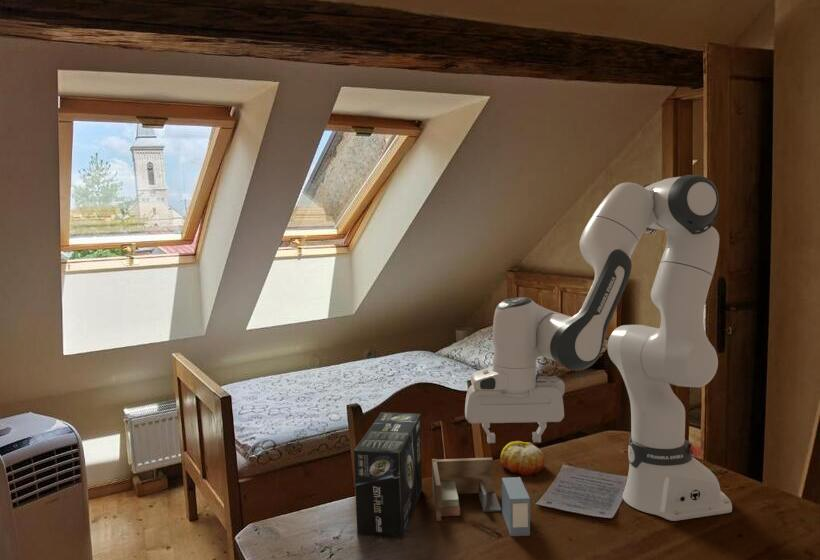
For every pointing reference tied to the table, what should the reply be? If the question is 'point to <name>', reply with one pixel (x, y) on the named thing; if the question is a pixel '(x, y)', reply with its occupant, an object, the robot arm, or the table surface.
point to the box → (388, 475)
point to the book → (516, 506)
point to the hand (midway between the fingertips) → (513, 442)
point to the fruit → (522, 458)
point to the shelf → (458, 482)
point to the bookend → (488, 499)
